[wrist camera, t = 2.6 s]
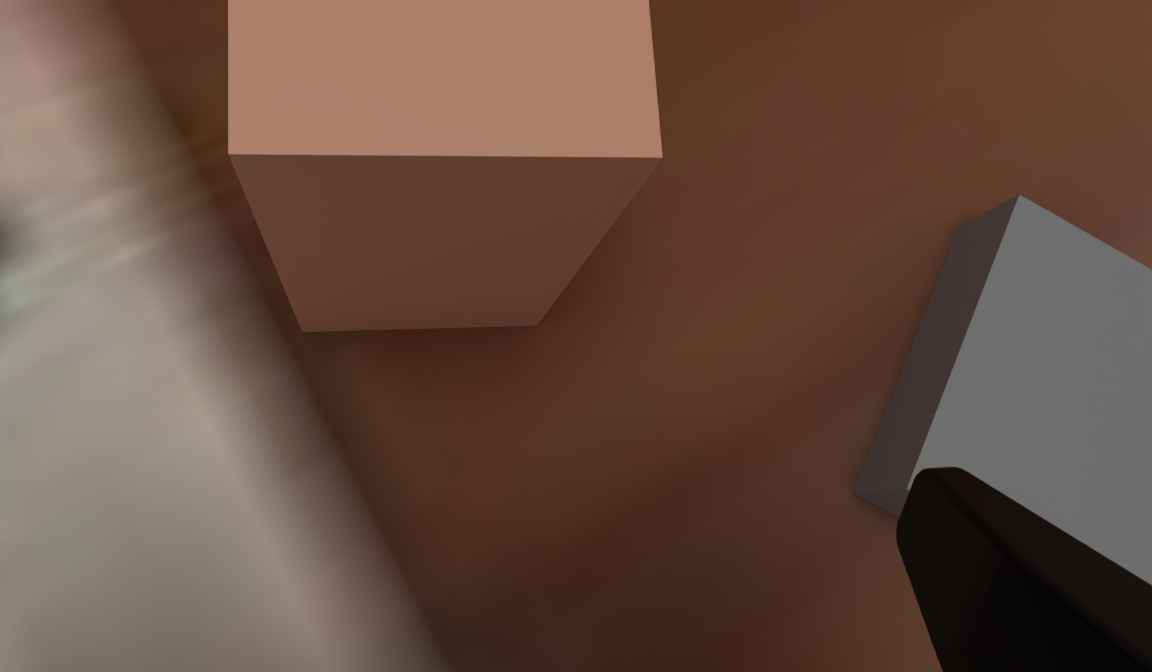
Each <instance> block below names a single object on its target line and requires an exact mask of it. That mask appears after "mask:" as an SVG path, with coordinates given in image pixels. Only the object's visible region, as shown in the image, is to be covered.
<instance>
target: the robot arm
mask: <svg viewBox="0 0 1152 672" xmlns="http://www.w3.org/2000/svg"><path fill="white" fill-rule="evenodd" d="M896 537H897V544H898V548H899V551H900V554H901V557H902V560H903V562H904V565H905V568H906V571H907V574H908V576H909V579H910V582H911V585H912V588H913V590H914V593H915V596H916V599H917V602H918V604H919V607H920V610H921V613H922V616H923V618H924V621H925V624H926V627H927V630H928V632H929V635H930V638H931V641H932V644H933V646H934V649H935V652H936V655H937V657H938V660H939V662H940V665H941V668H942V670H943V672H1152V585H1151V584H1149V583H1148V582H1146V581H1144V580H1143V579H1141V578H1139V577H1138V576H1136V575H1135V574H1133V573H1131V572H1130V571H1128V570H1126V569H1125V568H1123V567H1122V566H1120V565H1118V564H1117V563H1115V562H1113V561H1112V560H1110V559H1109V558H1107V557H1105V556H1104V555H1102V554H1100V553H1099V552H1097V551H1096V550H1094V549H1092V548H1091V547H1089V546H1087V545H1086V544H1084V543H1083V542H1081V541H1079V540H1078V539H1076V538H1074V537H1073V536H1071V535H1070V534H1068V533H1066V532H1065V531H1063V530H1061V529H1060V528H1058V527H1057V526H1055V525H1053V524H1052V523H1050V522H1048V521H1047V520H1045V519H1044V518H1042V517H1040V516H1039V515H1037V514H1036V513H1034V512H1032V511H1031V510H1029V509H1027V508H1026V507H1024V506H1023V505H1021V504H1019V503H1018V502H1016V501H1014V500H1013V499H1011V498H1010V497H1008V496H1006V495H1005V494H1003V493H1001V492H1000V491H998V490H997V489H995V488H993V487H992V486H990V485H988V484H987V483H985V482H984V481H982V480H980V479H979V478H977V477H975V476H974V475H972V474H971V473H969V472H967V471H966V470H964V469H962V468H959V467H937V468H926V469H923V470H921V471H920V472H919V473H918V474H917V475H916V476H915V478H914V480H913V483H912V486H911V488H910V491H909V494H908V496H907V499H906V502H905V504H904V507H903V510H902V512H901V515H900V518H899V520H898V524H897V531H896Z"/></svg>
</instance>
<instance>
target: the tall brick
mask: <svg viewBox="0 0 1152 672" xmlns="http://www.w3.org/2000/svg"><path fill="white" fill-rule="evenodd" d="M228 154H229V157H230V159H231V162H232V164H233V166H234V169H235V171H236V174H237V176H238V178H239V181H240V183H241V186H242V188H243V191H244V193H245V195H246V198H247V200H248V203H249V205H250V207H251V210H252V212H253V215H254V217H255V219H256V222H257V224H258V227H259V229H260V231H261V234H262V236H263V239H264V241H265V244H266V246H267V248H268V251H269V253H270V256H271V258H272V260H273V263H274V265H275V268H276V270H277V272H278V275H279V277H280V280H281V282H282V284H283V287H284V289H285V292H286V294H287V297H288V299H289V301H290V304H291V306H292V309H293V311H294V313H295V316H296V318H297V321H298V323H299V325H300V328H301V330H302V332H328V331H364V330H400V329H436V328H472V327H508V326H537V325H538V324H539V322H540V321H541V320H542V318H543V317H544V316H545V314H546V313H547V312H548V310H549V309H550V308H551V306H552V305H553V304H554V302H555V301H556V300H557V298H558V297H559V296H560V294H561V293H562V292H563V290H564V289H565V287H566V286H567V285H568V283H569V282H570V281H571V279H572V278H573V277H574V275H575V274H576V273H577V271H578V270H579V269H580V267H581V266H582V265H583V263H584V262H585V261H586V259H587V258H588V257H589V255H590V254H591V253H592V251H593V250H594V249H595V247H596V246H597V245H598V243H599V242H600V241H601V239H602V238H603V237H604V235H605V234H606V233H607V231H608V230H609V229H610V227H611V226H612V225H613V223H614V222H615V220H616V219H617V218H618V216H619V215H620V214H621V212H622V211H623V210H624V208H625V207H626V206H627V204H628V203H629V202H630V200H631V199H632V198H633V196H634V195H635V194H636V192H637V191H638V190H639V188H640V187H641V186H642V184H643V183H644V182H645V180H646V179H647V178H648V176H649V175H650V174H651V172H652V171H653V170H654V168H655V167H656V166H657V164H658V163H659V162H660V160H661V159H662V147H661V135H660V124H659V113H658V101H657V90H656V79H655V67H654V56H653V45H652V33H651V22H650V11H649V0H228Z"/></svg>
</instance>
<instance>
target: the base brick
mask: <svg viewBox="0 0 1152 672" xmlns="http://www.w3.org/2000/svg"><path fill="white" fill-rule="evenodd" d="M937 467H959V468H962V469H964V470H966V471H967V472H969V473H971V474H972V475H974V476H975V477H977V478H979V479H980V480H982V481H984V482H985V483H987V484H988V485H990V486H992V487H993V488H995V489H997V490H998V491H1000V492H1001V493H1003V494H1005V495H1006V496H1008V497H1010V498H1011V499H1013V500H1014V501H1016V502H1018V503H1019V504H1021V505H1023V506H1024V507H1026V508H1027V509H1029V510H1031V511H1032V512H1034V513H1036V514H1037V515H1039V516H1040V517H1042V518H1044V519H1045V520H1047V521H1048V522H1050V523H1052V524H1053V525H1055V526H1057V527H1058V528H1060V529H1061V530H1063V531H1065V532H1066V533H1068V534H1070V535H1071V536H1073V537H1074V538H1076V539H1078V540H1079V541H1081V542H1083V543H1084V544H1086V545H1087V546H1089V547H1091V548H1092V549H1094V550H1096V551H1097V552H1099V553H1100V554H1102V555H1104V556H1105V557H1107V558H1109V559H1110V560H1112V561H1113V562H1115V563H1117V564H1118V565H1120V566H1122V567H1123V568H1125V569H1126V570H1128V571H1130V572H1131V573H1133V574H1135V575H1136V576H1138V577H1139V578H1141V579H1143V580H1144V581H1146V582H1148V583H1149V584H1151V585H1152V270H1151V269H1149V268H1148V267H1146V266H1144V265H1142V264H1140V263H1139V262H1137V261H1135V260H1133V259H1132V258H1130V257H1128V256H1126V255H1125V254H1123V253H1121V252H1119V251H1118V250H1116V249H1114V248H1112V247H1111V246H1109V245H1107V244H1105V243H1104V242H1102V241H1100V240H1098V239H1097V238H1095V237H1093V236H1091V235H1090V234H1088V233H1086V232H1084V231H1082V230H1081V229H1079V228H1077V227H1075V226H1074V225H1072V224H1070V223H1068V222H1067V221H1065V220H1063V219H1061V218H1060V217H1058V216H1056V215H1054V214H1053V213H1051V212H1049V211H1047V210H1046V209H1044V208H1042V207H1040V206H1039V205H1037V204H1035V203H1033V202H1032V201H1030V200H1028V199H1026V198H1025V197H1023V196H1021V195H1018V196H1016V197H1014V198H1012V199H1010V200H1008V201H1006V202H1005V203H1003V204H1001V205H999V206H997V207H995V208H993V209H991V210H990V211H988V212H986V213H984V214H982V215H980V216H978V217H976V218H975V219H973V220H971V221H969V222H967V223H965V224H963V225H961V226H959V227H958V230H957V232H956V235H955V237H954V240H953V242H952V245H951V247H950V250H949V252H948V255H947V257H946V260H945V262H944V265H943V267H942V270H941V272H940V275H939V277H938V280H937V282H936V285H935V287H934V290H933V292H932V295H931V297H930V300H929V302H928V305H927V307H926V310H925V313H924V315H923V318H922V320H921V323H920V325H919V328H918V330H917V333H916V335H915V338H914V340H913V343H912V345H911V348H910V350H909V353H908V355H907V358H906V360H905V363H904V365H903V368H902V370H901V373H900V375H899V378H898V380H897V383H896V385H895V388H894V390H893V393H892V395H891V398H890V400H889V403H888V405H887V408H886V410H885V413H884V415H883V418H882V420H881V423H880V425H879V428H878V430H877V433H876V435H875V438H874V440H873V443H872V445H871V448H870V450H869V453H868V455H867V458H866V460H865V463H864V465H863V468H862V470H861V473H860V475H859V478H858V480H857V483H856V485H855V488H854V490H853V494H855V495H857V496H859V497H861V498H863V499H865V500H867V501H868V502H870V503H872V504H874V505H876V506H878V507H880V508H882V509H884V510H885V511H887V512H889V513H891V514H893V515H895V516H897V517H899V518H900V515H901V512H902V510H903V507H904V504H905V502H906V499H907V496H908V494H909V491H910V488H911V486H912V483H913V480H914V478H915V476H916V475H917V474H918V473H919V472H920V471H921V470H923V469H926V468H937Z"/></svg>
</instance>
